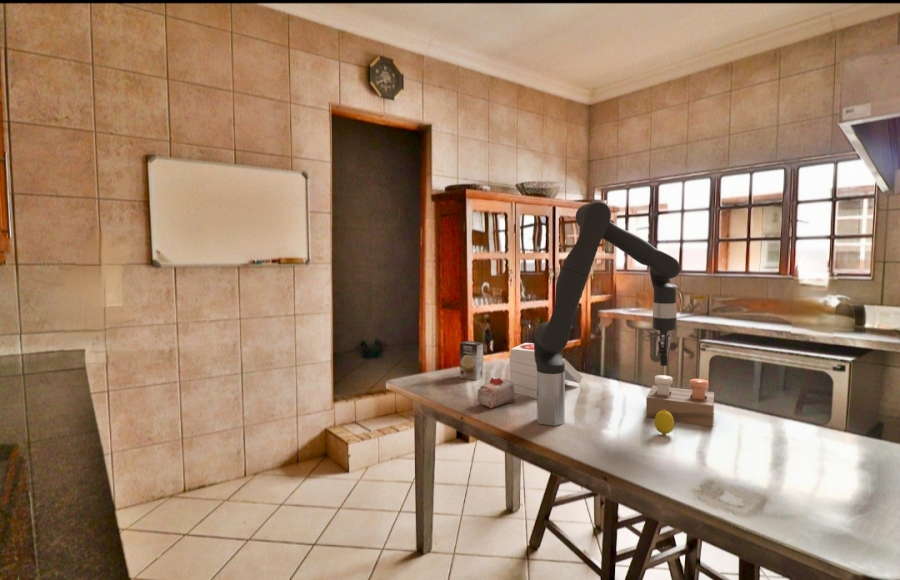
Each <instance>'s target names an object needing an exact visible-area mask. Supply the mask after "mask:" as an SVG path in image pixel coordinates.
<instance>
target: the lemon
mask: <svg viewBox="0 0 900 580" xmlns="http://www.w3.org/2000/svg"><path fill="white" fill-rule="evenodd" d="M674 426H675V422H674V419H673V416H672V415H671V413H669V412H668V411H666V410H663V411H659V412H658V413H657V414H656V416H655V419H654V428H655V429H656V430H657V431H658V432H659V433H661V434H662V435H663V436H667V434H670V433H671V432H672V431H673V429H674V428H675V427H674Z"/></svg>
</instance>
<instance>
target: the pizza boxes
mask: <svg viewBox="0 0 900 580" xmlns="http://www.w3.org/2000/svg"><path fill="white" fill-rule="evenodd" d="M509 351H510V354H509V355H508V356H509V380H510V381H511V382H513V386H514V393H516V394H520V395H523V396H525V395H526V396H525V397H528V396H529V398H532V397H533V398H532V399H535V398H536V399H535V400H537V366H536V362H535V354H534V342H531V343H530V342H524V343H521V344H519V345H517V346H515V347H512V348H510V349H509ZM561 357H562V360H563V362H564V364H565V381H569V382H573V383H577V384H580V383H581V381H582V379H583V376H582V375H581V374H580V372H578V370H576V369H575V367H574V366H573V365H572V364H571V363H570V362H569V361H568V360H567V359H566V358H563V355H561Z"/></svg>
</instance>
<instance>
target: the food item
mask: <svg viewBox="0 0 900 580" xmlns="http://www.w3.org/2000/svg"><path fill="white" fill-rule="evenodd" d="M515 400H516V399H515V392H514V386H513V382H511V381H510V379H507V378H503V379H501V378H500V377H499V378H493V377H490V380H489V382H488V383H484V384H482V385H481V386H480V387H479V388H478V389H477V402H478V403H479V404H481V405H483V406H484V405H485V407H486V406H487V407H486V408H488V407H489V409H491V408H492V409H494V407H495V408H497V407H498V406H502V405H507V404H510V403H512V402H515Z"/></svg>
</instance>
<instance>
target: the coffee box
mask: <svg viewBox="0 0 900 580" xmlns="http://www.w3.org/2000/svg"><path fill="white" fill-rule="evenodd" d="M459 378H460V379H466V380H473V381H478V380H480V379H482V378H484V342H479V341H473V340H465V341H462V342H459Z"/></svg>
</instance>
